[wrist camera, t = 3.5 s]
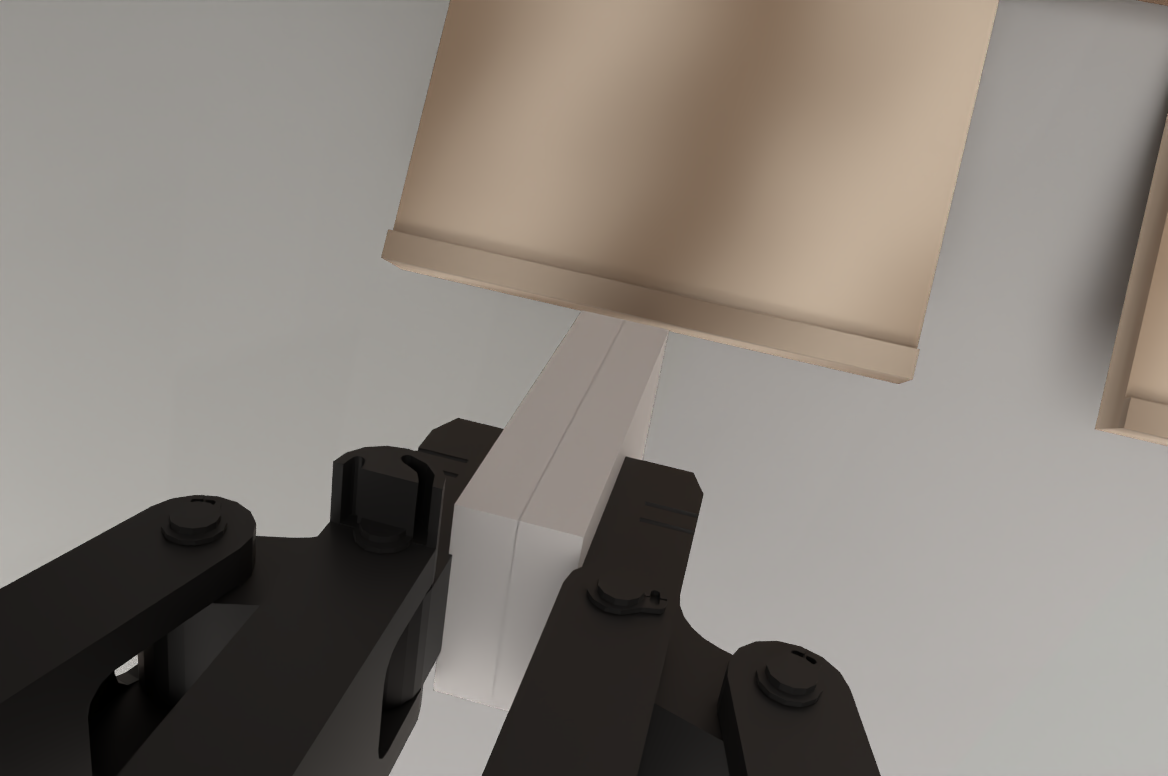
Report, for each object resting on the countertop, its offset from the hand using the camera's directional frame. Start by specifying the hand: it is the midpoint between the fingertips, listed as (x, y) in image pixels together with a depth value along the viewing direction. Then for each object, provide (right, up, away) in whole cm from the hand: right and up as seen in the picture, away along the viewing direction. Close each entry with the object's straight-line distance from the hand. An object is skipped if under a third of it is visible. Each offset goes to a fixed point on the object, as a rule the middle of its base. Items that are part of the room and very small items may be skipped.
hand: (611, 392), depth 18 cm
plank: (+2, +5, +5) cm, 7 cm away
